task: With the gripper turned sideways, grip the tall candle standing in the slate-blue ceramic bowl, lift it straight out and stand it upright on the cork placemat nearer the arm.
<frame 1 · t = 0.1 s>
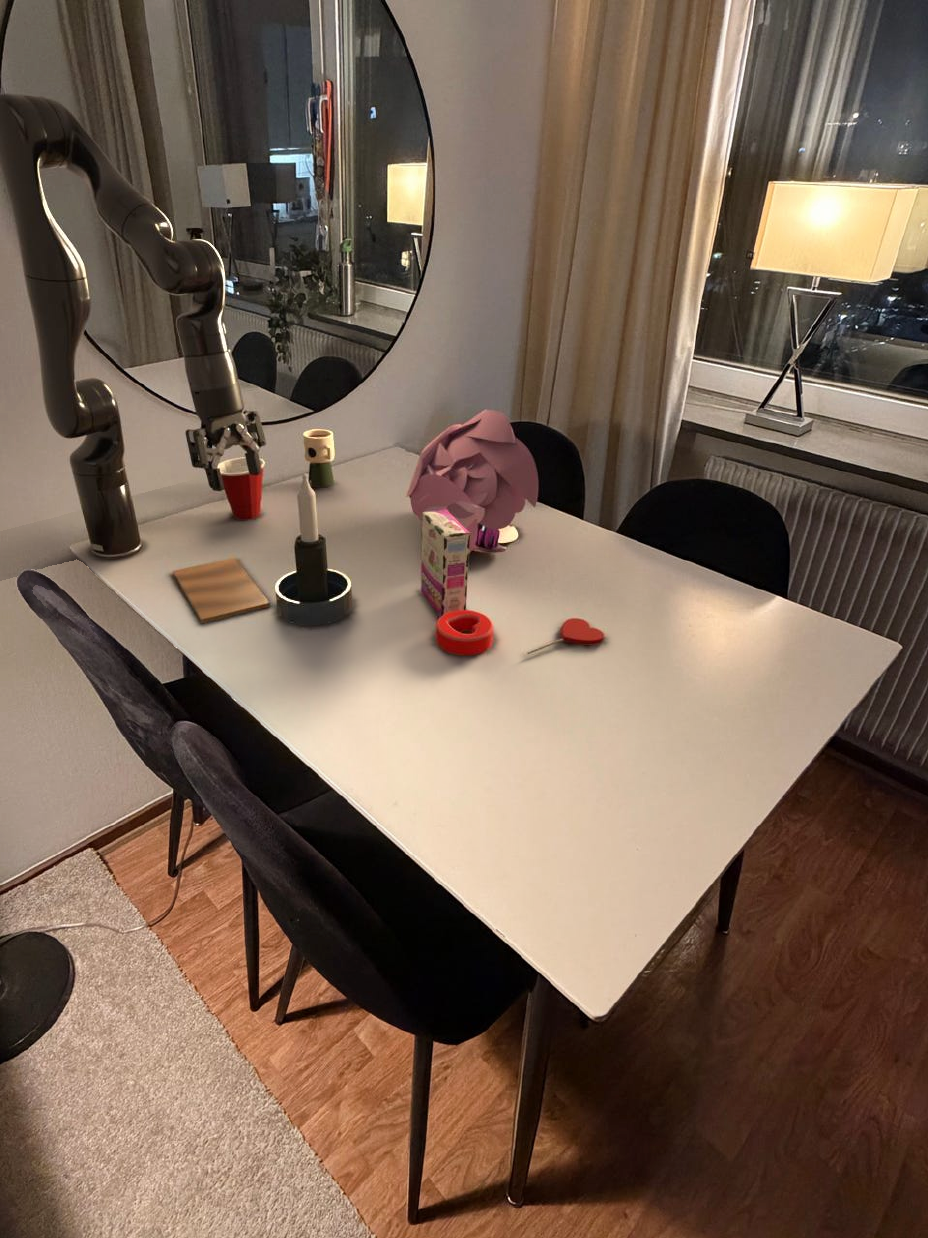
hand: (237, 482, 123), 22 cm above the table, tool pointing down, fingers open, 8 cm apart
bowl: (315, 606, 133), on the table
candy bar box: (443, 604, 136), on the table
candle: (315, 606, 133), resting on bowl
plastic cup: (245, 515, 166), on the table
mat: (220, 590, 136), on the table
lollipop: (561, 643, 126), on the table
character mug: (321, 485, 182), on the table
decorative ornament: (464, 640, 126), on the table
flower arrangement: (471, 534, 162), on the table
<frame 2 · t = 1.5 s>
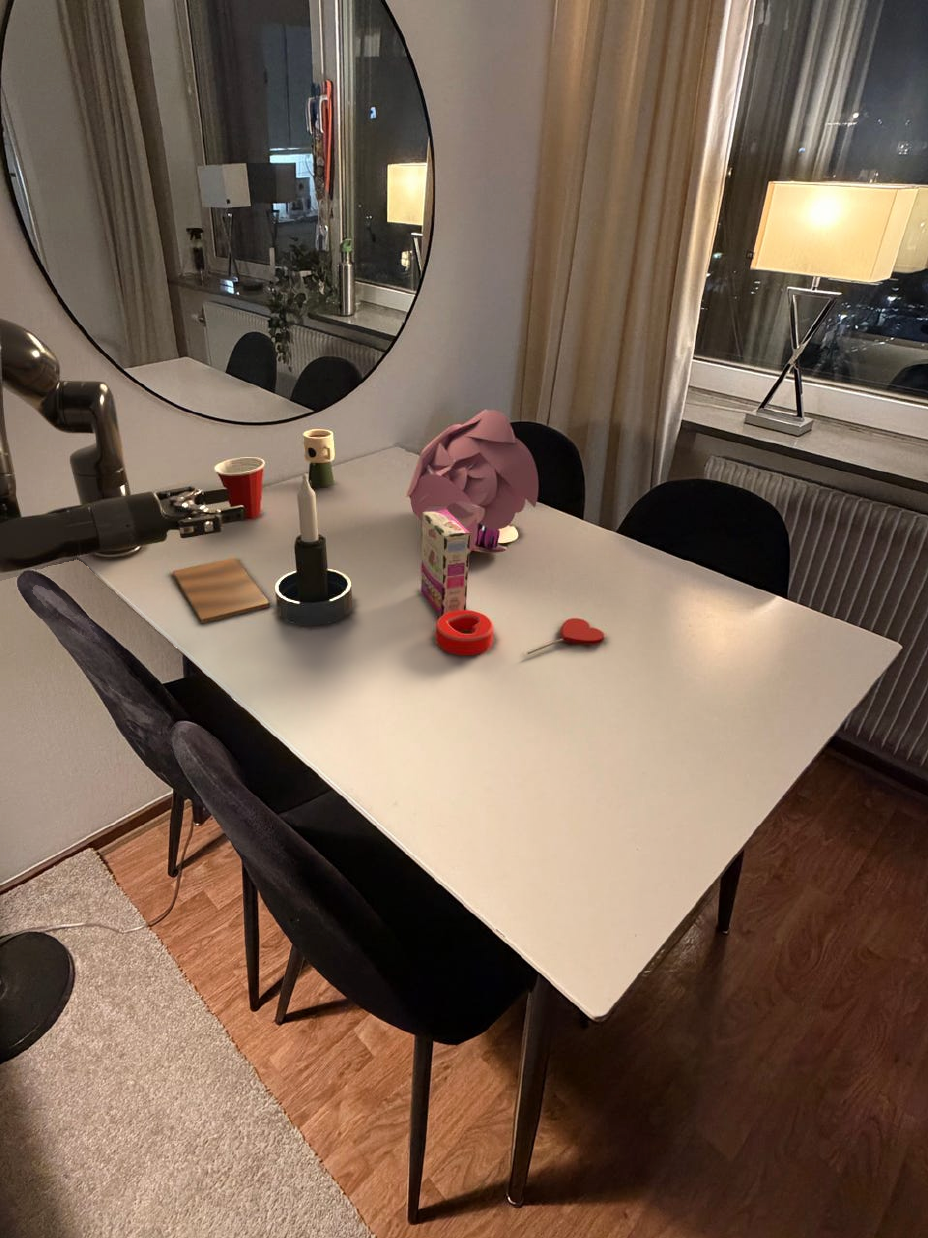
hand: (236, 502, 116), 22 cm above the table, tool horizontal, fingers open, 8 cm apart
nothing on the table moved.
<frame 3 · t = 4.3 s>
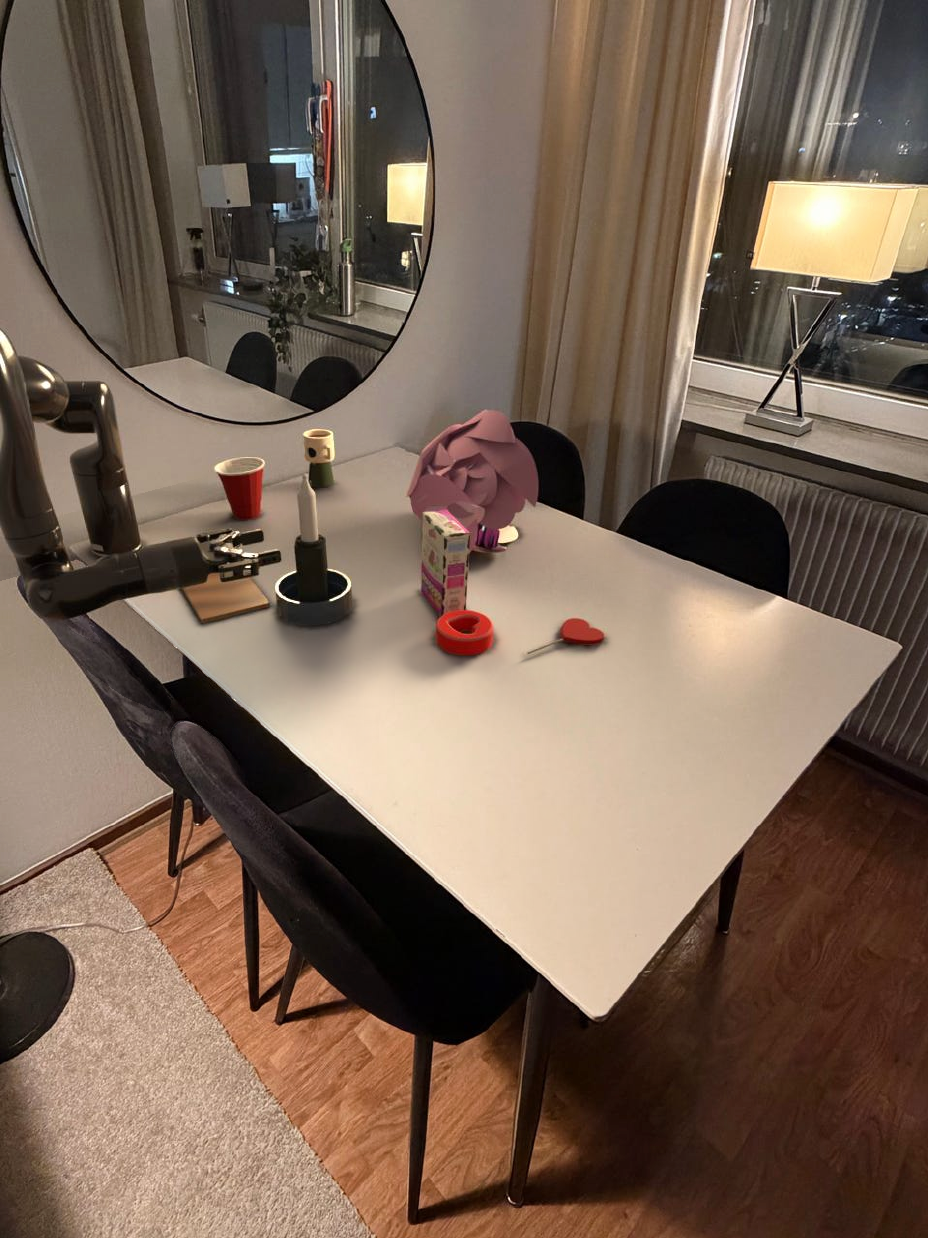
hand: (271, 544, 122), 14 cm above the table, tool horizontal, fingers open, 8 cm apart
nothing on the table moved.
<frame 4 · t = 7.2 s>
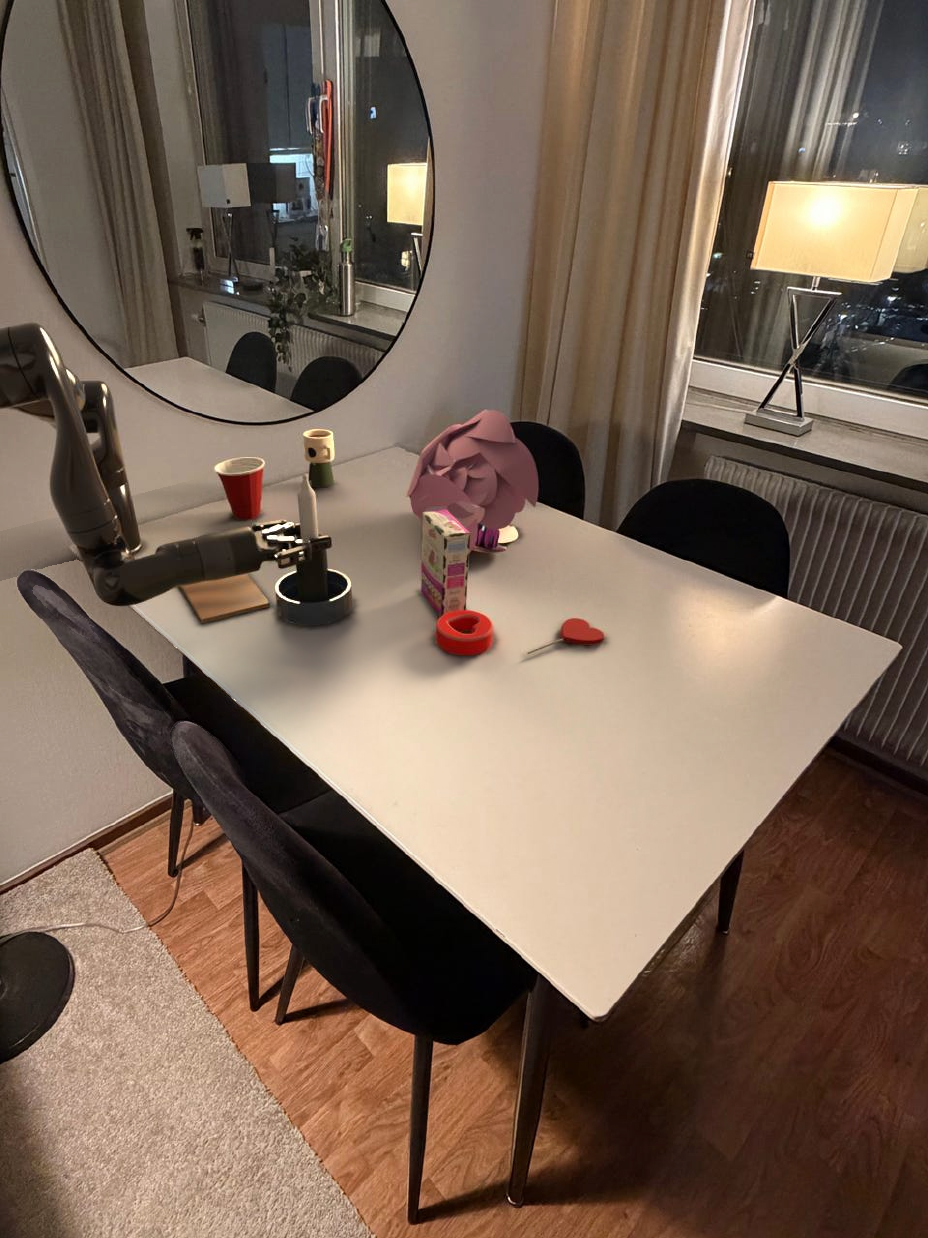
hand: (322, 533, 126), 14 cm above the table, tool horizontal, fingers closed on candle, 6 cm apart
candle: (315, 606, 133), resting on bowl, touching gripper
everything else where it was.
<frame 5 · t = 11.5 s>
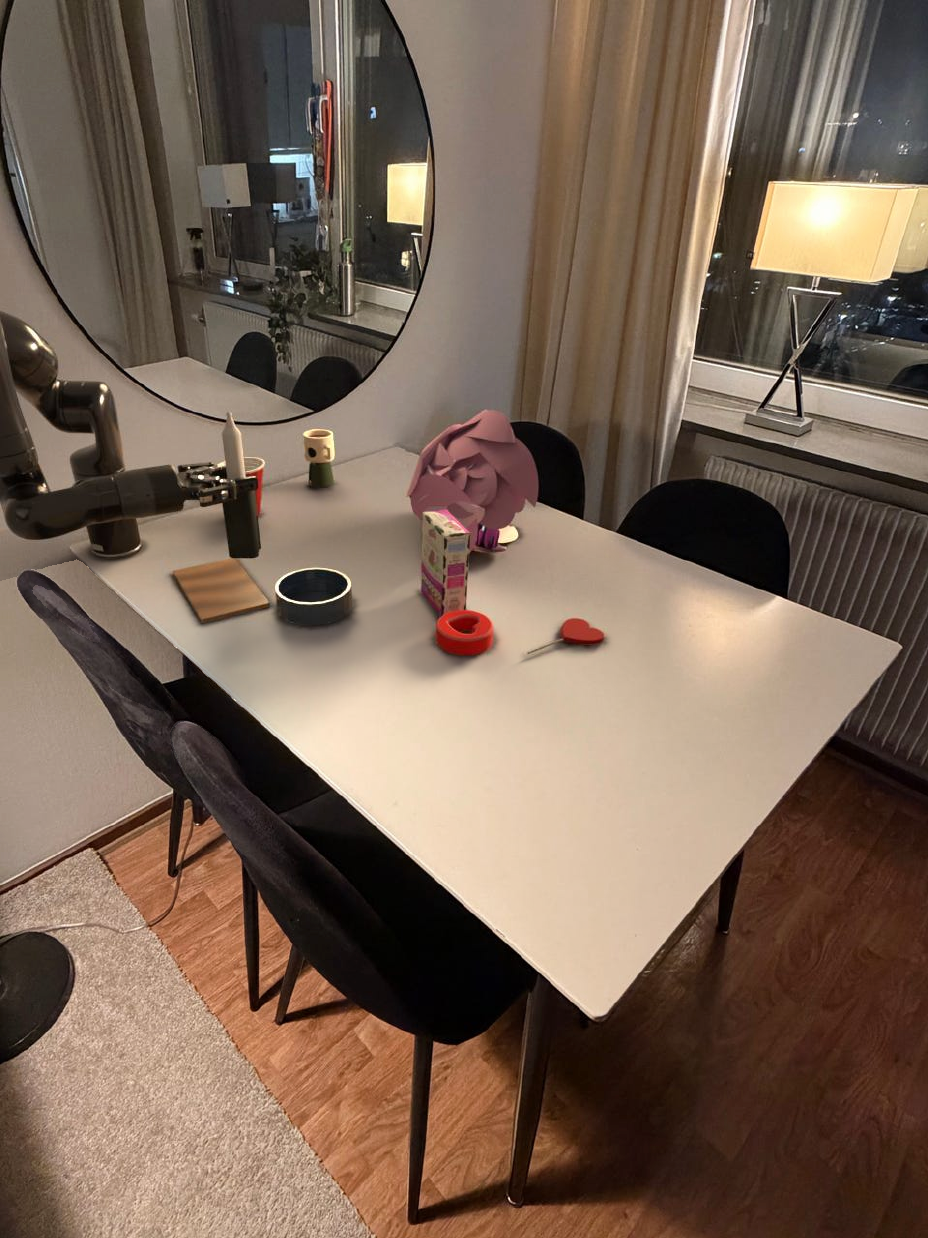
hand: (250, 476, 125), 23 cm above the table, tool horizontal, fingers closed on candle, 6 cm apart
candle: (245, 553, 131), point 9 cm above the table, touching gripper
everything else where it was.
when the fingers open (15 cm above the table, at t = 16.0 s): candle stays where it is, resting on mat.
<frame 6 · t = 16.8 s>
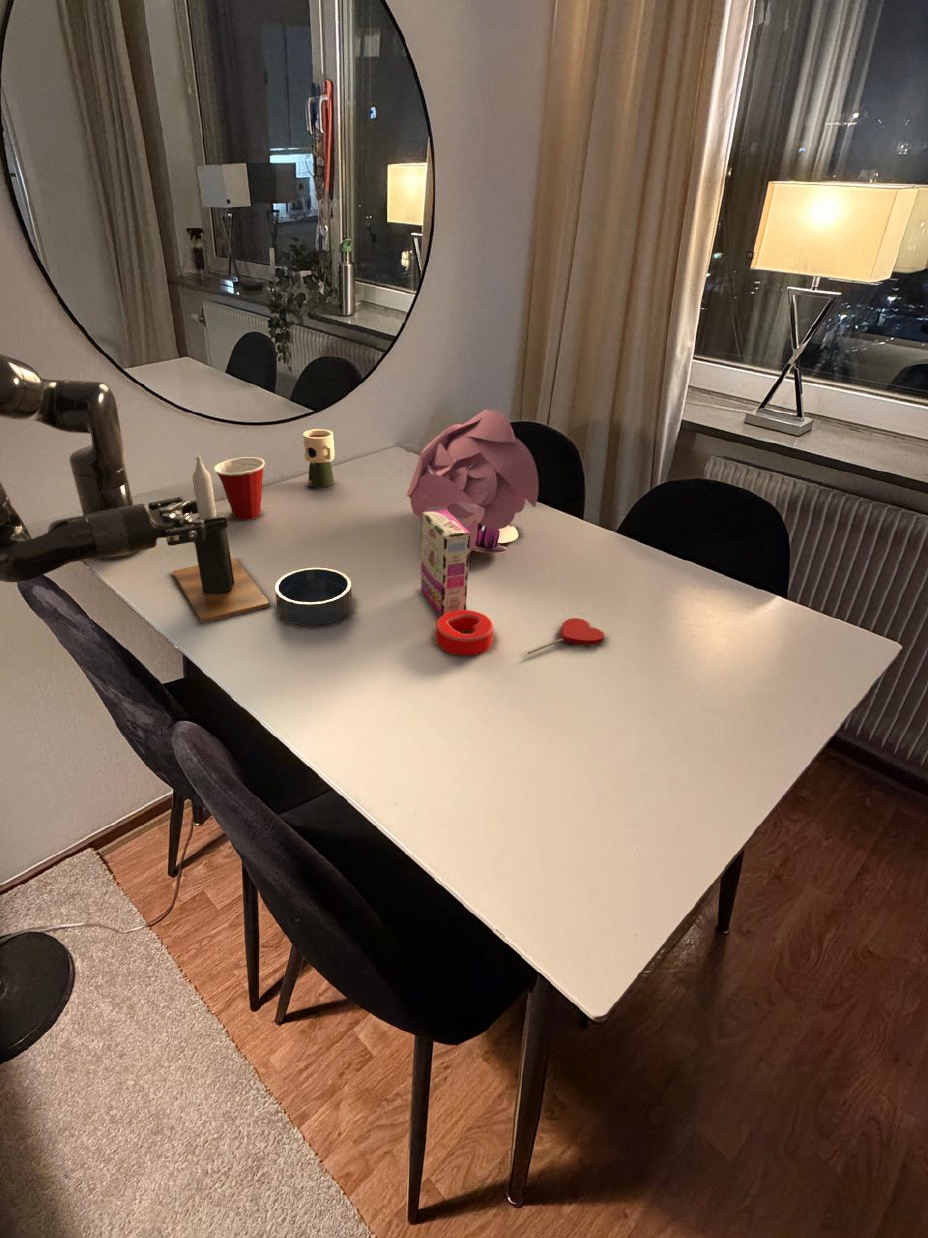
hand: (219, 512, 129), 15 cm above the table, tool horizontal, fingers open, 8 cm apart
candle: (218, 587, 136), point 1 cm above the table, touching mat
everything else where it was.
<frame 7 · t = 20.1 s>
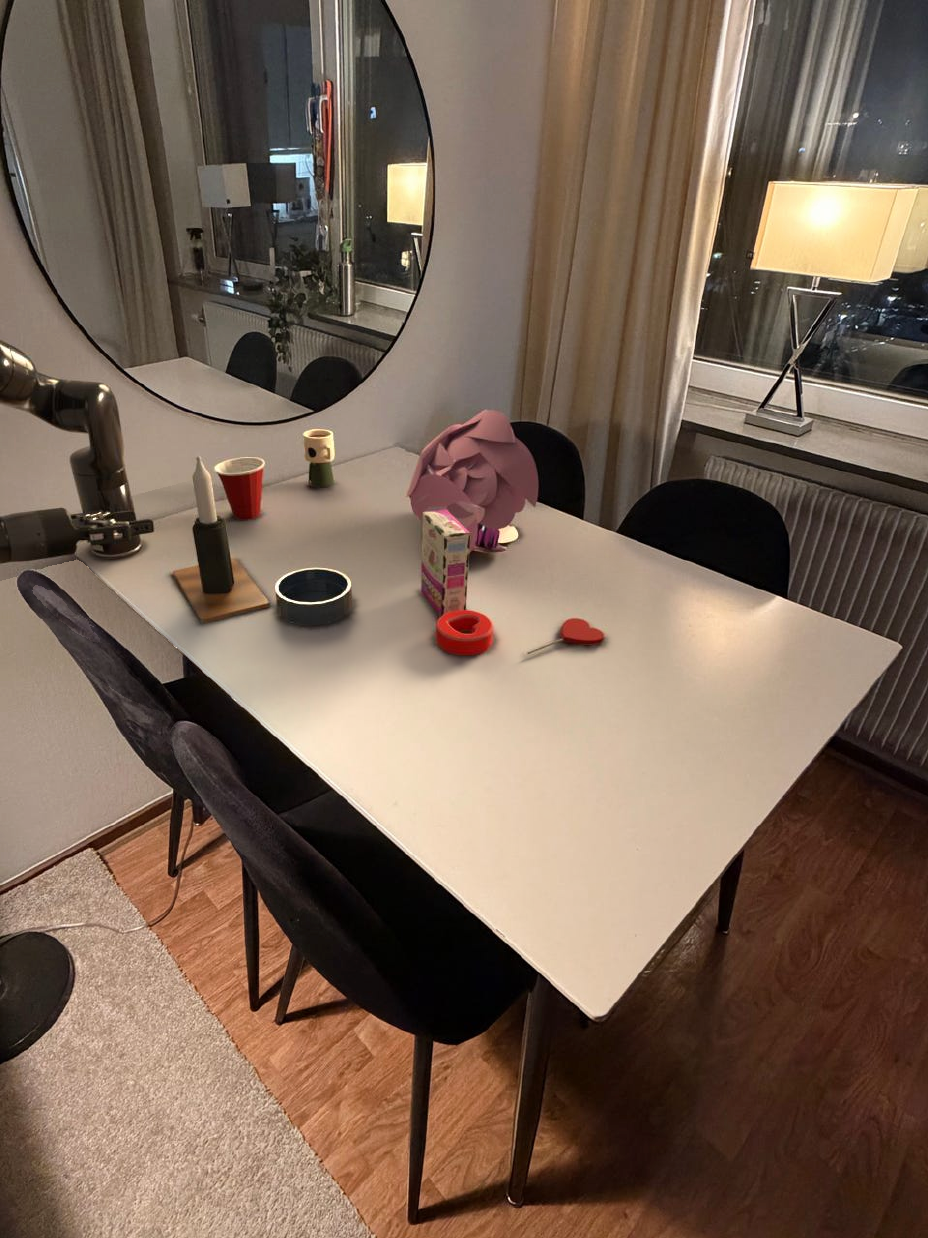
hand: (143, 520, 125), 15 cm above the table, tool horizontal, fingers open, 8 cm apart
nothing on the table moved.
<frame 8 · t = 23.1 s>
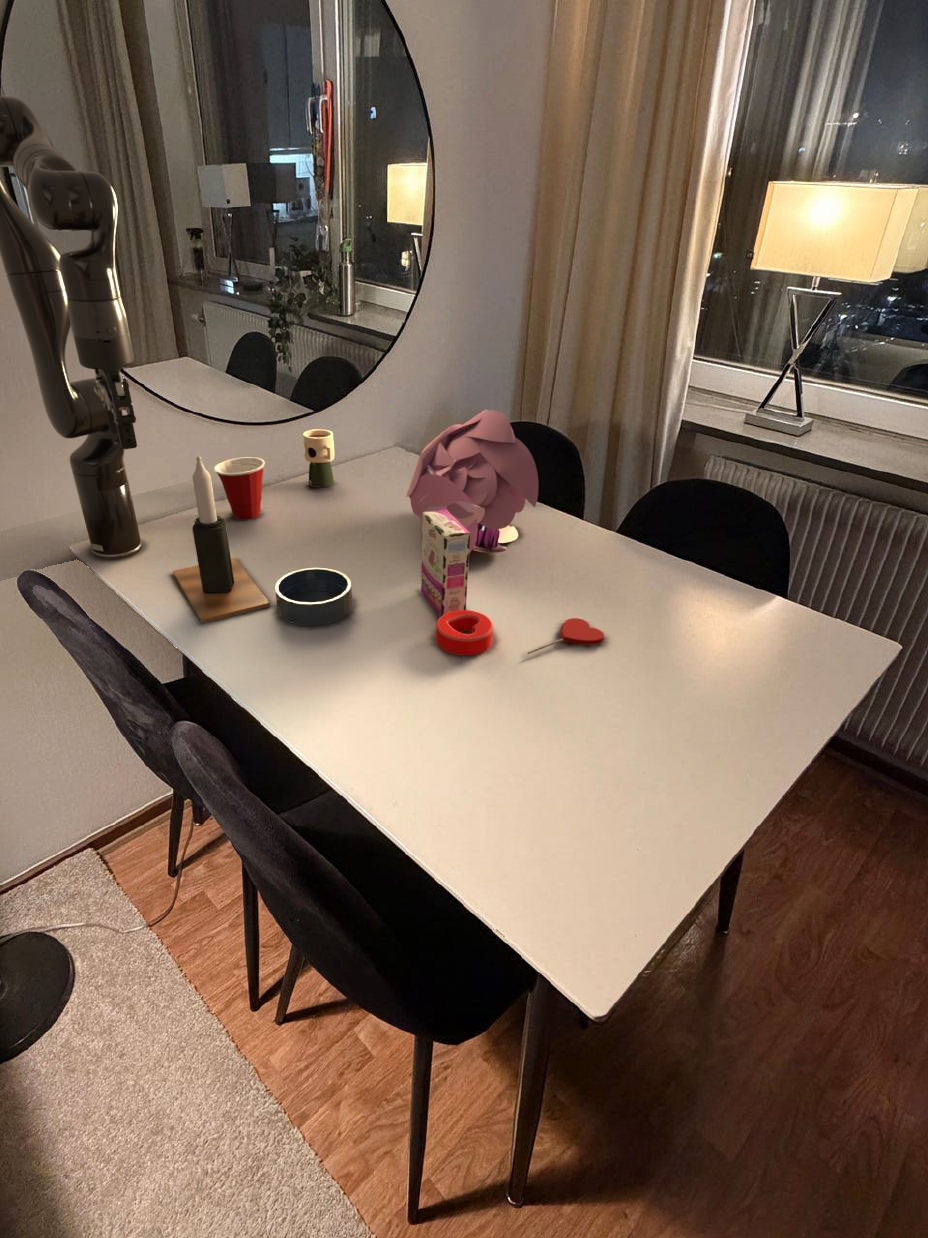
hand: (123, 439, 115), 30 cm above the table, tool pointing down, fingers open, 8 cm apart
nothing on the table moved.
at the end: candle inside the target area on the mat (0.3 cm from its centre), point 0.6 cm above the mat's base; candle touching mat; candle tilted 0° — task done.
